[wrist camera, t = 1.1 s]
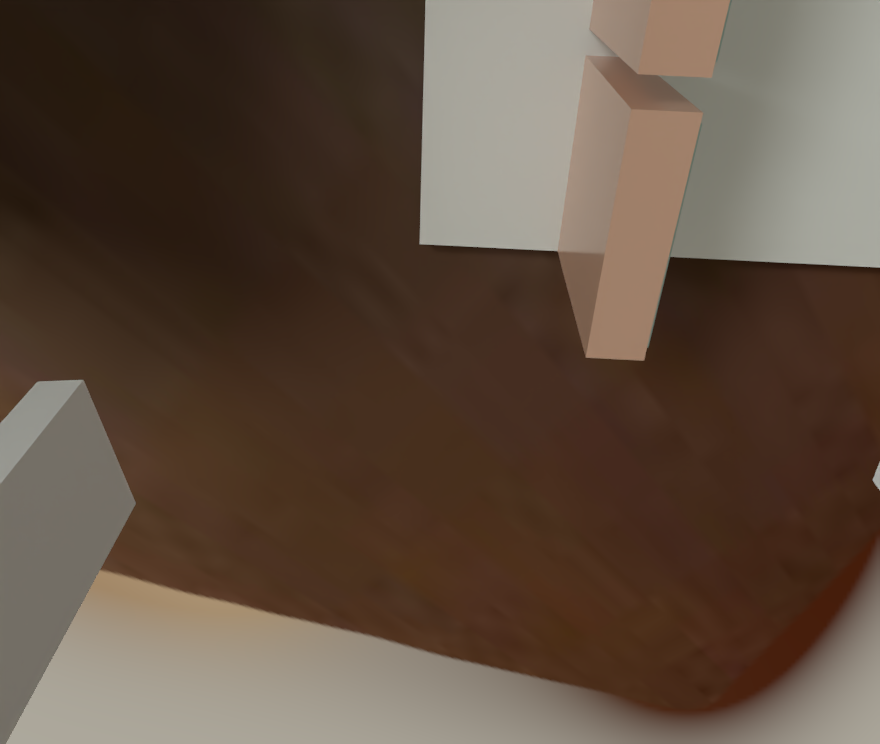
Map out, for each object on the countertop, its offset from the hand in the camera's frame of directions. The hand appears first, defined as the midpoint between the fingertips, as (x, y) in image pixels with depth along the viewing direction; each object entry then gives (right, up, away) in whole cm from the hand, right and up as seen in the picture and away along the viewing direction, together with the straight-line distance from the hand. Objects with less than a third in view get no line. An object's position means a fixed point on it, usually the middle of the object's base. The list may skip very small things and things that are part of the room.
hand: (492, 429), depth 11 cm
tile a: (+6, +11, +21) cm, 24 cm away
